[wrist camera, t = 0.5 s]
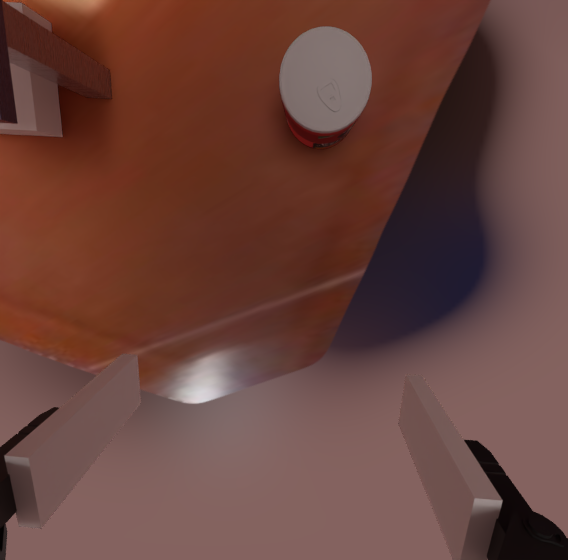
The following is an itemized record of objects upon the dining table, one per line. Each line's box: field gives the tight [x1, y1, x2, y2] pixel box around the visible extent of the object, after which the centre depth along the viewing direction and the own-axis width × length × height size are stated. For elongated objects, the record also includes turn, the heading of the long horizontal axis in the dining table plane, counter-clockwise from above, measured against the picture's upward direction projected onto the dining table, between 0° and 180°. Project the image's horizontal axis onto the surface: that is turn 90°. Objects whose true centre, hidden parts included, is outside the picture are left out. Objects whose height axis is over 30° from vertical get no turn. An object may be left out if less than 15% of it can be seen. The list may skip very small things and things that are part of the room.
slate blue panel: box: [0, 0, 112, 124], centre depth 31 cm, size 14×10×16 cm
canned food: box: [279, 27, 372, 149], centre depth 32 cm, size 8×8×11 cm
